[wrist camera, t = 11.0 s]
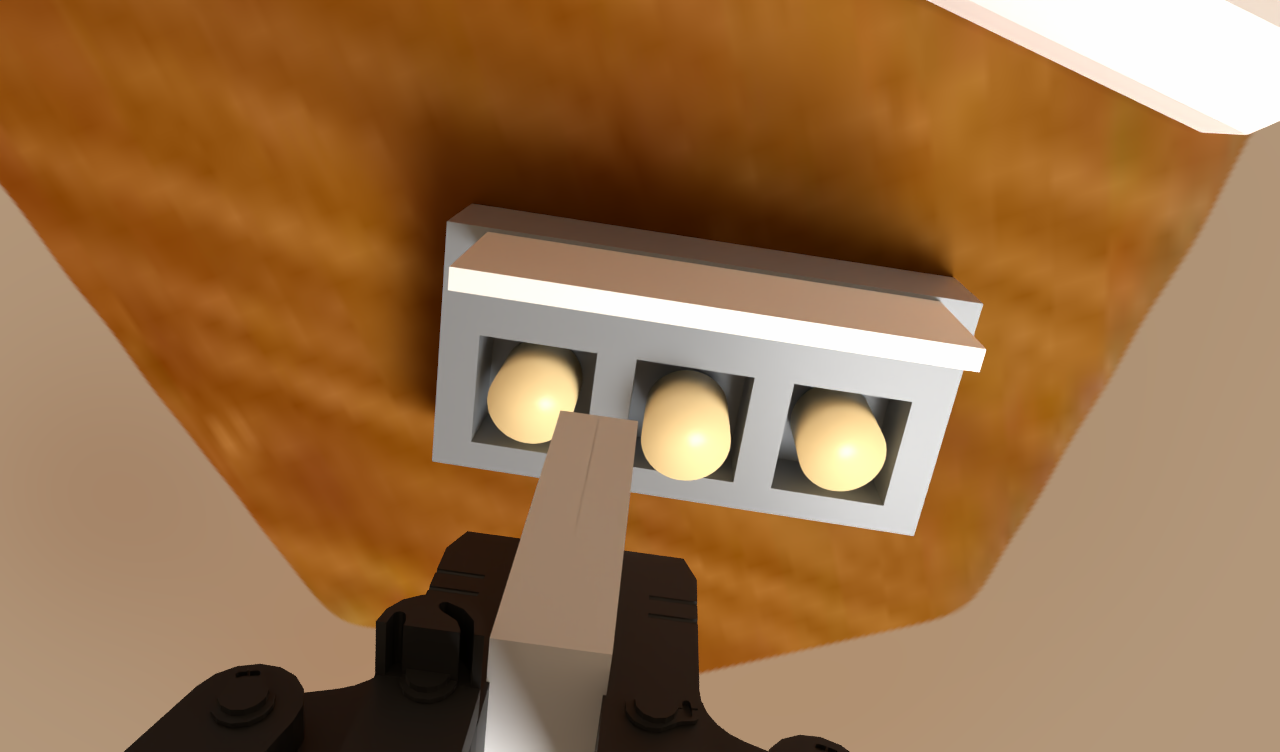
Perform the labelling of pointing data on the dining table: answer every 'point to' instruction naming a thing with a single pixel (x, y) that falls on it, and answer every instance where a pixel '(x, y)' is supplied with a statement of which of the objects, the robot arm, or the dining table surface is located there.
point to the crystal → (1156, 51)
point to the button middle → (686, 426)
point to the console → (704, 352)
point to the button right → (837, 439)
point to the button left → (534, 391)
